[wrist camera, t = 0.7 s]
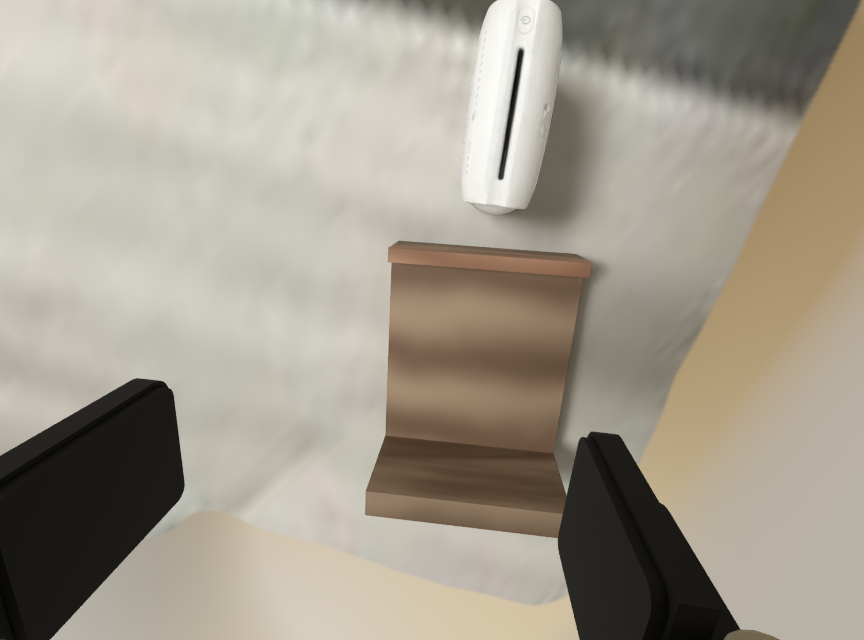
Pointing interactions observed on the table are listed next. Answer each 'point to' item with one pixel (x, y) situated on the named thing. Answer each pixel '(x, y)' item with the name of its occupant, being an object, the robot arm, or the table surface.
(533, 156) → the photo printer
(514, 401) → the cleat board
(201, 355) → the table surface
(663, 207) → the table surface
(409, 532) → the table surface
